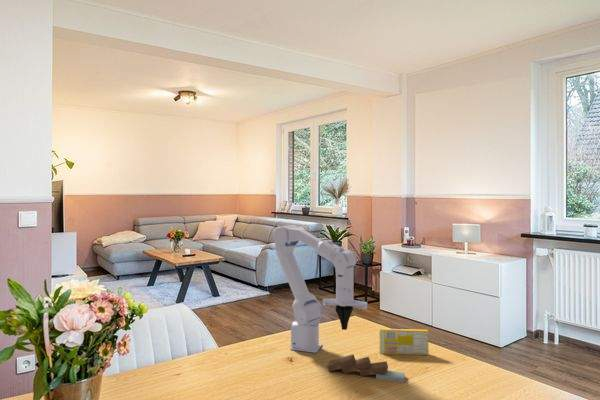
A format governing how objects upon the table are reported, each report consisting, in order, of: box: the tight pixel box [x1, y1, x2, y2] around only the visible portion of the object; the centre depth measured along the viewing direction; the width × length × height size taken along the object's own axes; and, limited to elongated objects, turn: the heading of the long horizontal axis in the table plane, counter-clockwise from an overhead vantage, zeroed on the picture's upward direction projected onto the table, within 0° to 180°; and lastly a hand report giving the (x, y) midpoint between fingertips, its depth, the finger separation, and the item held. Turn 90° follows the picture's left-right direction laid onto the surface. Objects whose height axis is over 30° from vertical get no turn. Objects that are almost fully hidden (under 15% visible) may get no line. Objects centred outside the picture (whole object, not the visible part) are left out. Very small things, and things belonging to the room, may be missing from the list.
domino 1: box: [326, 353, 356, 372], centre depth 127 cm, size 2×4×8 cm
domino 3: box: [358, 360, 389, 377], centre depth 124 cm, size 2×4×8 cm
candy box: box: [378, 327, 430, 356], centre depth 140 cm, size 16×2×8 cm, turn 84°
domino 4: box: [375, 369, 406, 384], centre depth 122 cm, size 2×4×8 cm
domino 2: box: [341, 356, 372, 374], centre depth 125 cm, size 2×4×8 cm
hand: (344, 328), depth 135 cm, fingers closed
